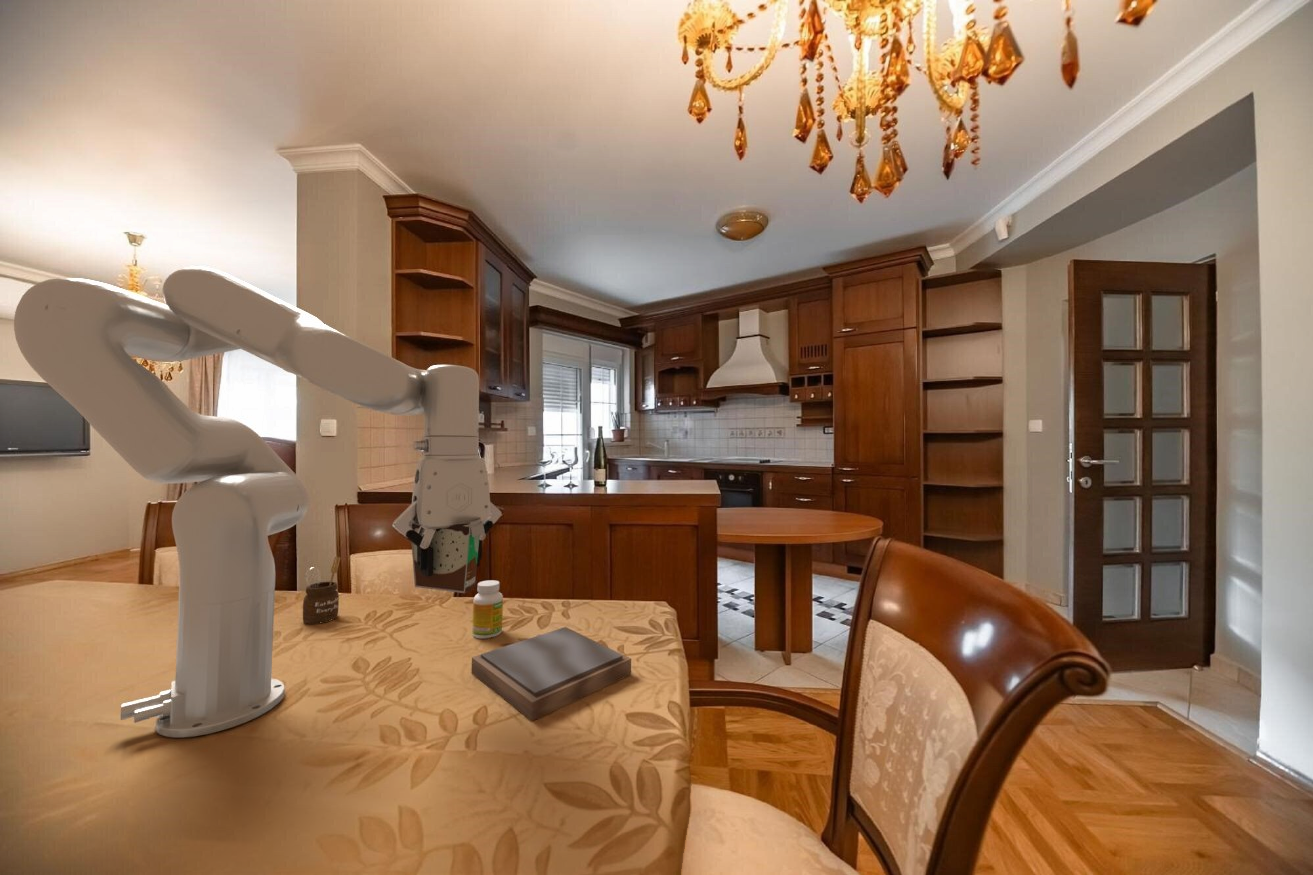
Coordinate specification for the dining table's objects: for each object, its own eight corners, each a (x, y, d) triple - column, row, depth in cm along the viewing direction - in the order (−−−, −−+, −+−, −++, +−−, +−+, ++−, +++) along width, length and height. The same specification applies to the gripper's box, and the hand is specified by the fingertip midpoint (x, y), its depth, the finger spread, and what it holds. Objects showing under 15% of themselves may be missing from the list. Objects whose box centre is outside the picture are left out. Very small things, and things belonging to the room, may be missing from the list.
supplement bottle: (495, 639, 86) (497, 587, 86) (467, 638, 86) (468, 586, 86) (505, 628, 91) (507, 579, 91) (479, 627, 91) (480, 578, 91)
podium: (531, 721, 60) (532, 698, 61) (471, 673, 73) (471, 654, 73) (630, 674, 73) (631, 655, 74) (565, 640, 86) (565, 624, 86)
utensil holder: (294, 622, 92) (297, 562, 92) (325, 612, 98) (327, 555, 98) (316, 626, 90) (318, 565, 90) (346, 615, 96) (348, 558, 96)
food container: (502, 581, 69) (502, 516, 70) (473, 594, 64) (473, 522, 64) (439, 575, 74) (439, 512, 74) (407, 586, 68) (407, 518, 68)
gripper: (396, 449, 60) (394, 588, 59) (517, 448, 72) (516, 563, 72) (378, 449, 65) (377, 576, 64) (494, 448, 77) (493, 555, 77)
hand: (450, 568), depth 68 cm, fingers closed on food container, 6 cm apart
